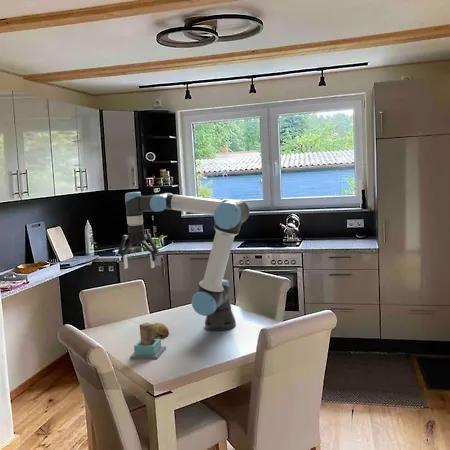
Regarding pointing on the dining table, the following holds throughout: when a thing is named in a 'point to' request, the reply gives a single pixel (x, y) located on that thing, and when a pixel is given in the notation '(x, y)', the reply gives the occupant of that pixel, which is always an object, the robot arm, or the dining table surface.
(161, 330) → the bread roll
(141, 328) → the walnut post
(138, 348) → the teal square socket
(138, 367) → the dining table surface
